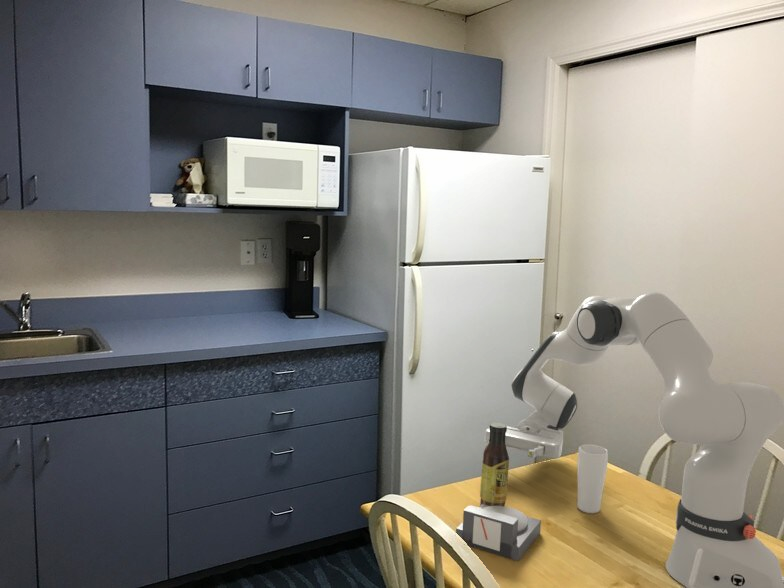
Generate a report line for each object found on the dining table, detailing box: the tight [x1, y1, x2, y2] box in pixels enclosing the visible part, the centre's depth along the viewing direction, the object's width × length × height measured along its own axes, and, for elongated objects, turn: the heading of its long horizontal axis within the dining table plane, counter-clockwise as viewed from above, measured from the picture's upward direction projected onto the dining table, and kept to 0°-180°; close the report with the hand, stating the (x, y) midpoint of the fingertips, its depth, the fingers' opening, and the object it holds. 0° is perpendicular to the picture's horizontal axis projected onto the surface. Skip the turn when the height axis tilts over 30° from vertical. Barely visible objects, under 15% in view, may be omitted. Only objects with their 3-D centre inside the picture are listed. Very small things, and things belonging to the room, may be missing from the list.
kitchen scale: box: [455, 503, 542, 562], centre depth 146 cm, size 14×14×8 cm
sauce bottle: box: [479, 422, 510, 506], centre depth 160 cm, size 6×6×20 cm
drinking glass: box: [576, 444, 609, 514], centre depth 160 cm, size 7×7×15 cm
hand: (513, 450), depth 170 cm, fingers open, 8 cm apart
